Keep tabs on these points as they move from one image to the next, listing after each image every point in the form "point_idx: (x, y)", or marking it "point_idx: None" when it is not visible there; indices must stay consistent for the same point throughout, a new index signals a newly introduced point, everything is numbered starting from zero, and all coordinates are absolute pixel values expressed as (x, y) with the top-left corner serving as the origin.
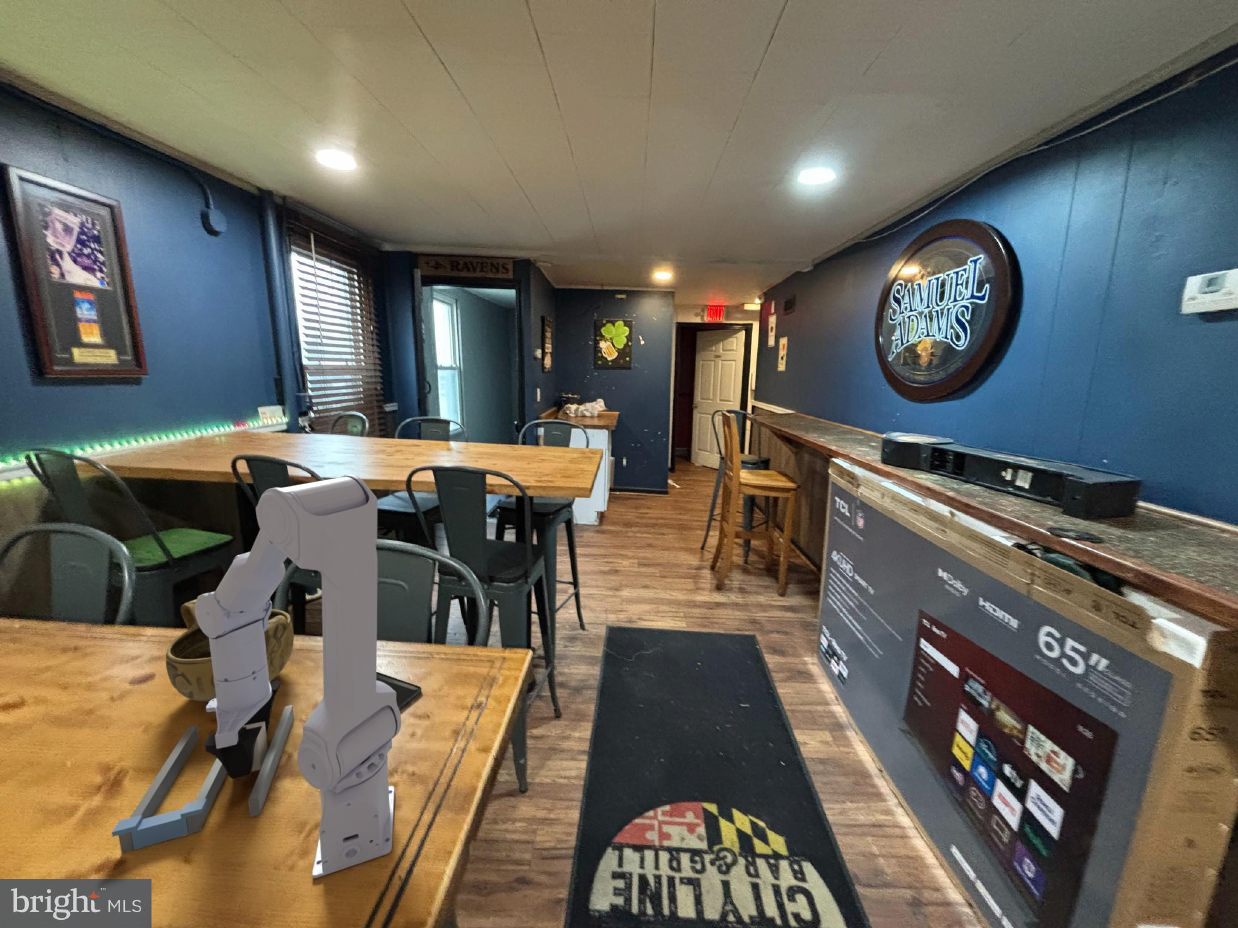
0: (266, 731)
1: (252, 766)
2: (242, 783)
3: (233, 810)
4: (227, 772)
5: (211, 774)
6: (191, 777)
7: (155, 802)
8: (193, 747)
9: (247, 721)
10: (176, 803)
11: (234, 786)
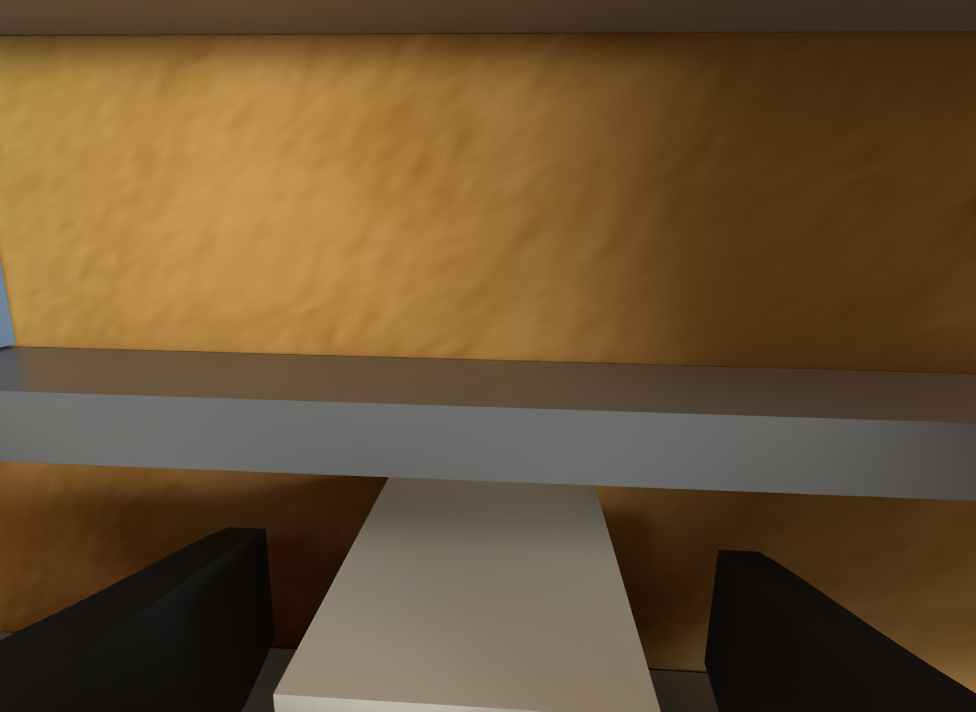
0: (715, 690)
1: (254, 678)
2: (294, 533)
3: (73, 535)
4: (161, 560)
5: (197, 425)
6: (492, 164)
7: (142, 3)
8: (929, 27)
9: (834, 691)
10: (231, 157)
11: (282, 492)
